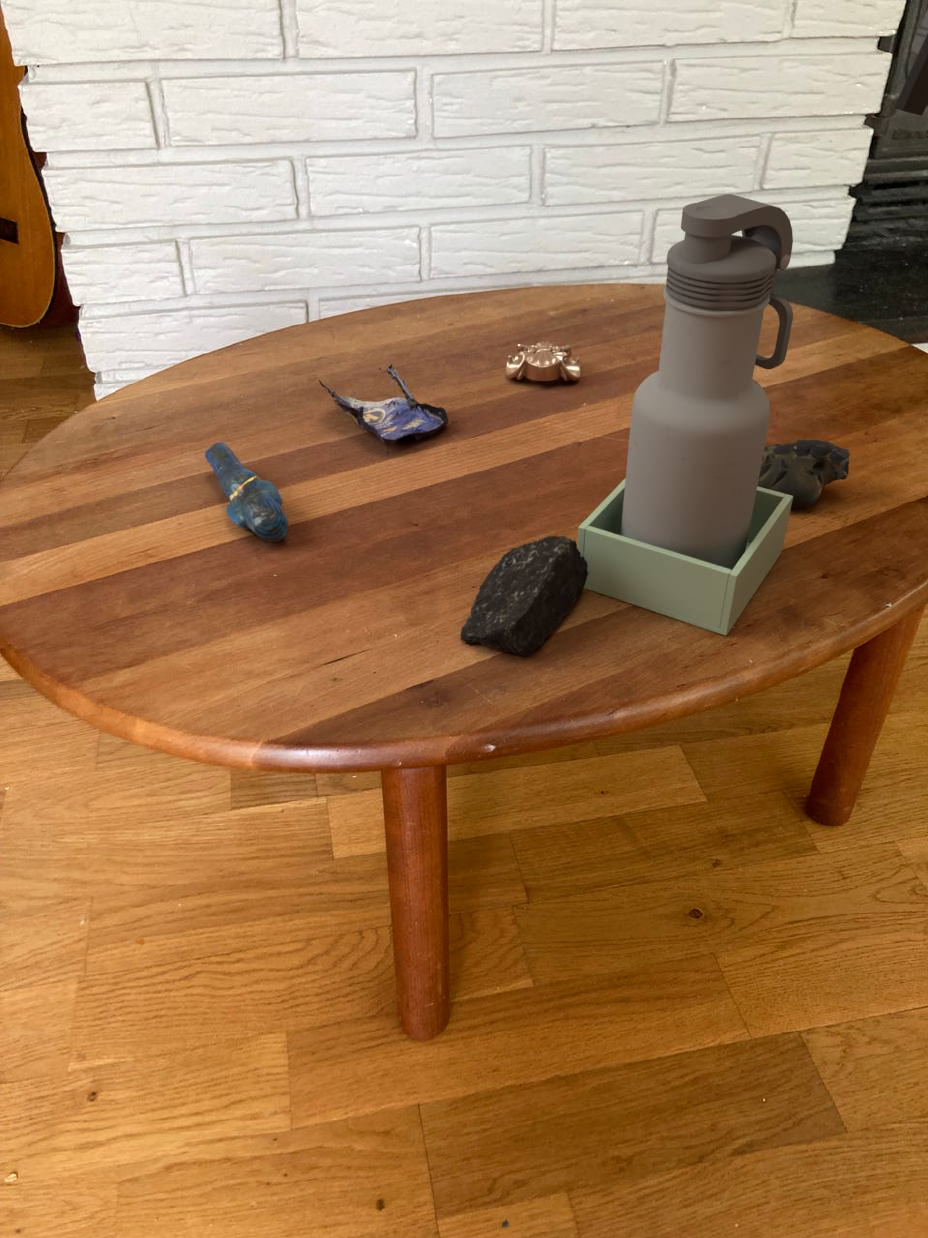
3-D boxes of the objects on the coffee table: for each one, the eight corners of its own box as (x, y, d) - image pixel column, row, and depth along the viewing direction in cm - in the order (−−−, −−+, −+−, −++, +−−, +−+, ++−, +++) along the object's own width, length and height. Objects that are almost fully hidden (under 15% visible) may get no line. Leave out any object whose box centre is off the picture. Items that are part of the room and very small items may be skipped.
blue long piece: (203, 481, 97) (261, 566, 87) (184, 451, 94) (242, 535, 85) (246, 455, 98) (309, 536, 88) (229, 424, 95) (292, 504, 85)
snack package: (423, 392, 110) (315, 406, 107) (426, 338, 105) (312, 352, 102) (458, 461, 102) (342, 479, 99) (462, 407, 98) (340, 424, 95)
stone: (685, 472, 96) (691, 420, 93) (833, 475, 95) (844, 422, 92) (691, 512, 91) (698, 458, 88) (848, 515, 90) (860, 461, 86)
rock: (447, 642, 77) (445, 578, 73) (506, 570, 84) (506, 508, 81) (534, 669, 74) (537, 605, 71) (587, 592, 82) (592, 530, 78)
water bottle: (678, 516, 89) (723, 173, 72) (770, 566, 83) (843, 205, 66) (592, 560, 84) (619, 203, 67) (684, 617, 78) (738, 241, 61)
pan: (781, 553, 85) (793, 495, 82) (726, 636, 77) (737, 576, 74) (640, 511, 91) (646, 455, 87) (574, 585, 82) (578, 526, 79)
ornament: (580, 363, 115) (582, 331, 112) (579, 391, 109) (581, 358, 107) (508, 361, 116) (508, 329, 113) (503, 388, 110) (503, 356, 108)
